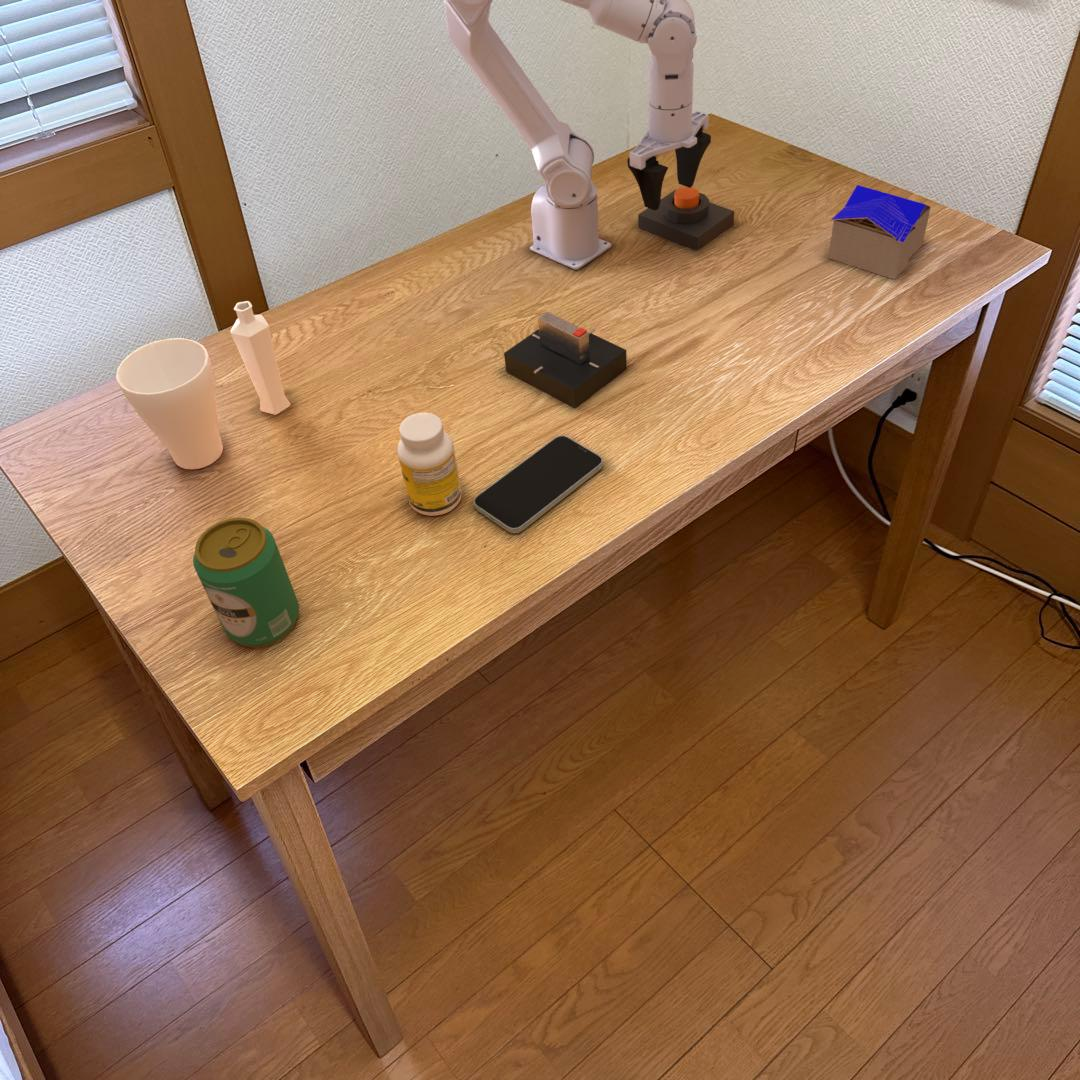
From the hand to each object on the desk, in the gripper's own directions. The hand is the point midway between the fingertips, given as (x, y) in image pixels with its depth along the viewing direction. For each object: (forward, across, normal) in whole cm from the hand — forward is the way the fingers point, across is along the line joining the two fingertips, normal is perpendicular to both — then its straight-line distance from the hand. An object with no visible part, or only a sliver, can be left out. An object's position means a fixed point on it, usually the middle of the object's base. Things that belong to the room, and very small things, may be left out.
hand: (668, 196), depth 147 cm
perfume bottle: (+8, -59, +17) cm, 62 cm away
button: (+5, +6, +2) cm, 8 cm away
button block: (+8, +6, +2) cm, 11 cm away
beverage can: (+8, -82, -11) cm, 83 cm away
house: (+8, +17, -24) cm, 31 cm away
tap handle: (+5, -30, -8) cm, 32 cm away
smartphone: (+8, -48, -20) cm, 53 cm away
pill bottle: (+8, -58, -12) cm, 59 cm away
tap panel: (+8, -30, -8) cm, 33 cm away
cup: (+8, -71, +17) cm, 73 cm away
